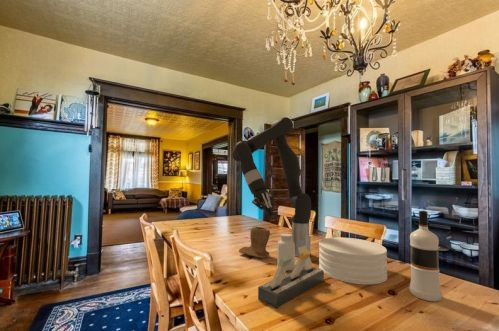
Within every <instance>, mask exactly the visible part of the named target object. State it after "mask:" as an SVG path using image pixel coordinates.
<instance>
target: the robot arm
mask: <svg viewBox="0 0 499 331" xmlns="http://www.w3.org/2000/svg"><path fill="white" fill-rule="evenodd" d="M293 130H294V123H293V120H292V119H291V118H289V117H284V116H283V117H281V118H278V119H276V120H274V121H273V122H271V126H270V127H269V128H266V129H265V130H263V131H261V132H259V133H256V134H255V135H253V136H251V137H249V138H248V139H247V140H246V141H238V142H237V143H236V145H235V146H234V149H232V154H231V157H232V159H233V160H234V161H236V162H240V166H239V167H240V171H241V172H242V175H243V177H244V180H245V183H246V185H247V186H248V189H249V191H250V194H252V195H253V200H251V203H252V204H253V205H255V207H257V208H258V209H260V211H262V210H263V211H265V213H266V215H267V217H268V218H269V219H271V218H273V217H275V212H274V209H273V206H274V205H275V204H274V203H275V195H274V194H273V193H272V194H270V193H269V191H268V189H267V184H266V182H265V180H264V178H263V176H262V174H261V172H260V171H259V169H258V168H257V166H256V163H255V161H254V156H253V153H255V152H256V151H258V150H260V149H261V148H264V147H265V146H266V145H268V144H269V143H270V142H272V141H274V142H275V144H276V148H277V151H278V154H279V158H280V162H281V166H282V171H283V174H284V178H285V181H286V185H287V190H288V191H287V192H288V198H289V202H290V205H291V207H292V208H294V215H293V216H292V217H291V235H292V241H293V242H294V243H295V257H297V258H299V257H300V253H299V250H298V248H297V245H296V242H297V241H301V240H304V242H305V246H306V248H307V250H309V251H310V252H311V236H310V219H311V214H312V200H311V196H309V195H308V194H307V193H304V192H302V187H301V185H300V176H301V168H300V167H301V165H300V163H299V158H298V156H297V154H296V153H295V151H294V150H293V149H292V148H291V147H290V145H289V144H288V141H287V138H286V135H288V134H290V133H291V132H292V131H293Z"/></svg>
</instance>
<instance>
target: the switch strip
mask: <svg viewBox="0 0 499 331" xmlns="http://www.w3.org/2000/svg"><path fill="white" fill-rule="evenodd" d="M291 273H292V271H290V272H289V273H285V275H284V277H283V279H282V282H281V284H280V285H279V286H277V287H275V288H272V289H270V285H271V282H272V280H271V281H268V282H266V283H264V284H262V285H259V286H257V299H258V300H259V301H260V302H263V303H265V304H267V305H268V306H271V307H272V308H274V309H278V308H280V307H282V306H284V305H285V304H287V303H288V302H290V301H293V299H296V298H297V297H299V296H301V295H302V294H304V293H306V292H307V291H309V290H310V289H312V288H314V287H316V286H318V285H319V284H321V283H323V282H324V281H325V278H324V275H325V274H324V271H323V270H320V269H319V268H316V267H314V266H313V269H311V270H309V271H306V270H305V267H304V266H303V268H302V270H301V272H300V274H299V276H297V277H295V278H293V279H291V280H290V279H289V278H290V275H291Z"/></svg>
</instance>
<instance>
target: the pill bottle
mask: <svg viewBox="0 0 499 331" xmlns="http://www.w3.org/2000/svg"><path fill="white" fill-rule="evenodd" d="M276 248H277V255H276V256H277V259H276V260H277V267H278V266H279V262H280V260H281V258H284V257H286V256H290V257H291V258H292V260H291V262H290V264H289V265H288V268H287V270H286V272H289V271H290V272H291V271H293V269H294V267H295V265H296V264H295V263H296V256H295V243H294V242H293V241H292V233H281V234H280V240H278V241H277V247H276Z"/></svg>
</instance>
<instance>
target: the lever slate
mask: <svg viewBox="0 0 499 331" xmlns="http://www.w3.org/2000/svg"><path fill="white" fill-rule="evenodd" d="M296 245H297V248H298V250H299V253H300V255H301V253H302V252H305V251H307V248H306V246H305V242H304V240H301V241H297V242H296ZM303 267H305V270H306V271H309V270H311V269H313V267H314V265H313V263H312V260H311V257H310V256H309V258H308V259H307V261H306V263H305V264H304V266H303Z"/></svg>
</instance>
